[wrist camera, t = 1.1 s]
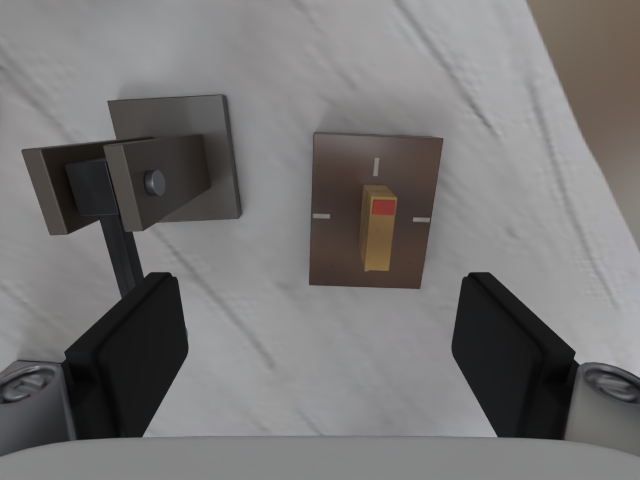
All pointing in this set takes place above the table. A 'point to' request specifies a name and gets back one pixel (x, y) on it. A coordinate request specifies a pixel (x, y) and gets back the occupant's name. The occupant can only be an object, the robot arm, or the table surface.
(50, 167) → the latch bracket
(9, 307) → the table surface
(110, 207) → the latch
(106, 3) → the table surface
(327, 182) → the plate
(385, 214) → the thumbturn
